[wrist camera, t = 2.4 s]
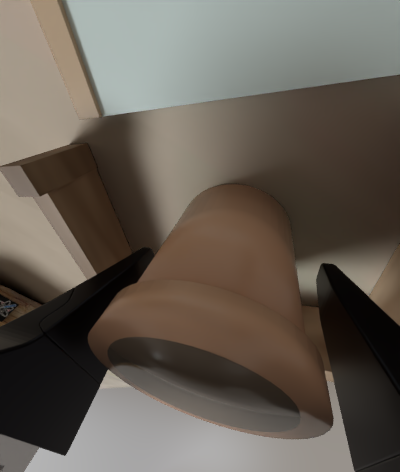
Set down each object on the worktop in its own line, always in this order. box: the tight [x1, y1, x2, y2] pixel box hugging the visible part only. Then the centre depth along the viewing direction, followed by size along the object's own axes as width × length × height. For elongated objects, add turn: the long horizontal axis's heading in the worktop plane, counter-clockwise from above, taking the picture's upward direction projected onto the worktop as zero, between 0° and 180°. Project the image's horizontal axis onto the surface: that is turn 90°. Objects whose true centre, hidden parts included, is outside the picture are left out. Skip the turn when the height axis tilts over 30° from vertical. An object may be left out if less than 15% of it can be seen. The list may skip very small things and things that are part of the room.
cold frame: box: [0, 143, 400, 382], centre depth 9 cm, size 16×11×4 cm
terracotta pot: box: [88, 184, 333, 439], centre depth 8 cm, size 6×6×7 cm
